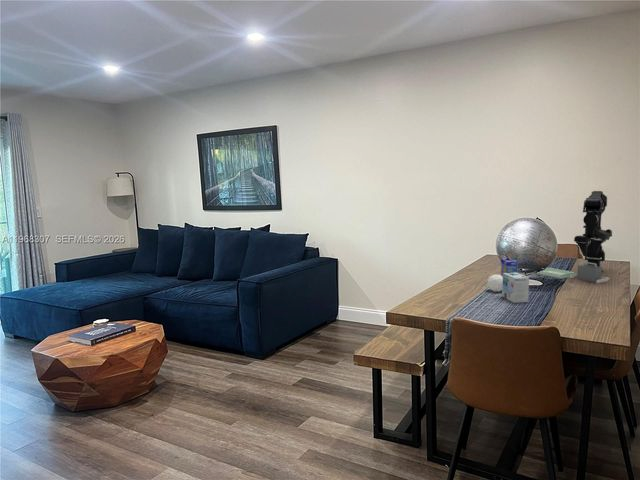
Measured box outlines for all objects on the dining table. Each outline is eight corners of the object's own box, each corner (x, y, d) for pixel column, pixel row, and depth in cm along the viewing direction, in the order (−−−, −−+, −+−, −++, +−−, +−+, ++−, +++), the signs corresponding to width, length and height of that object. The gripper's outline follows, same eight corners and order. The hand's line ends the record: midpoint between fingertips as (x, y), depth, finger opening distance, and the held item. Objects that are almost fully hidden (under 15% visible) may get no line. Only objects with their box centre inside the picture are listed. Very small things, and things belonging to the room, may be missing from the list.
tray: (548, 271, 253) (548, 267, 253) (574, 276, 240) (574, 272, 239) (535, 273, 248) (535, 269, 247) (561, 278, 235) (561, 274, 234)
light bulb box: (501, 296, 204) (502, 272, 203) (516, 295, 205) (516, 271, 203) (513, 303, 194) (514, 277, 192) (529, 302, 194) (529, 277, 193)
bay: (581, 275, 240) (581, 272, 240) (609, 280, 228) (609, 277, 228) (570, 278, 236) (570, 275, 235) (597, 283, 223) (597, 280, 223)
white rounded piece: (491, 280, 220) (517, 286, 213) (485, 292, 216) (511, 299, 209) (490, 269, 215) (517, 275, 208) (483, 281, 211) (510, 288, 204)
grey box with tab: (583, 277, 237) (584, 260, 235) (600, 280, 229) (601, 263, 228) (577, 278, 234) (578, 261, 233) (594, 282, 226) (595, 264, 225)
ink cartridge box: (499, 281, 231) (500, 253, 229) (511, 281, 231) (512, 253, 229) (505, 286, 222) (506, 256, 220) (517, 286, 221) (518, 256, 219)
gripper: (596, 226, 216) (595, 259, 218) (620, 223, 225) (618, 255, 227) (574, 224, 226) (572, 256, 228) (597, 221, 235) (595, 252, 237)
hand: (590, 255), depth 230 cm, fingers open, 9 cm apart
